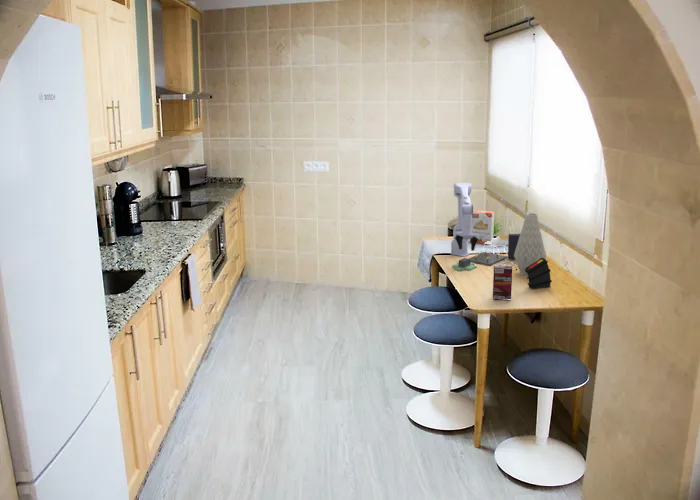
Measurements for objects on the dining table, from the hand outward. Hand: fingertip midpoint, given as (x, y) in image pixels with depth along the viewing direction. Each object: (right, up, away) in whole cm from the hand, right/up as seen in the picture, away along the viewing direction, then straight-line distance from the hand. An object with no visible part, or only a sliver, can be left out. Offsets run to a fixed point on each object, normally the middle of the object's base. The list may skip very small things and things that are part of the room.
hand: (466, 249), depth 346 cm
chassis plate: (+15, -6, +16) cm, 23 cm away
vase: (+32, -13, -12) cm, 36 cm away
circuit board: (-1, -10, +3) cm, 10 cm away
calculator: (+33, -6, +15) cm, 36 cm away
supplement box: (+8, -24, -48) cm, 54 cm away
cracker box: (+20, +4, +53) cm, 56 cm away
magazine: (+29, -19, -35) cm, 49 cm away
